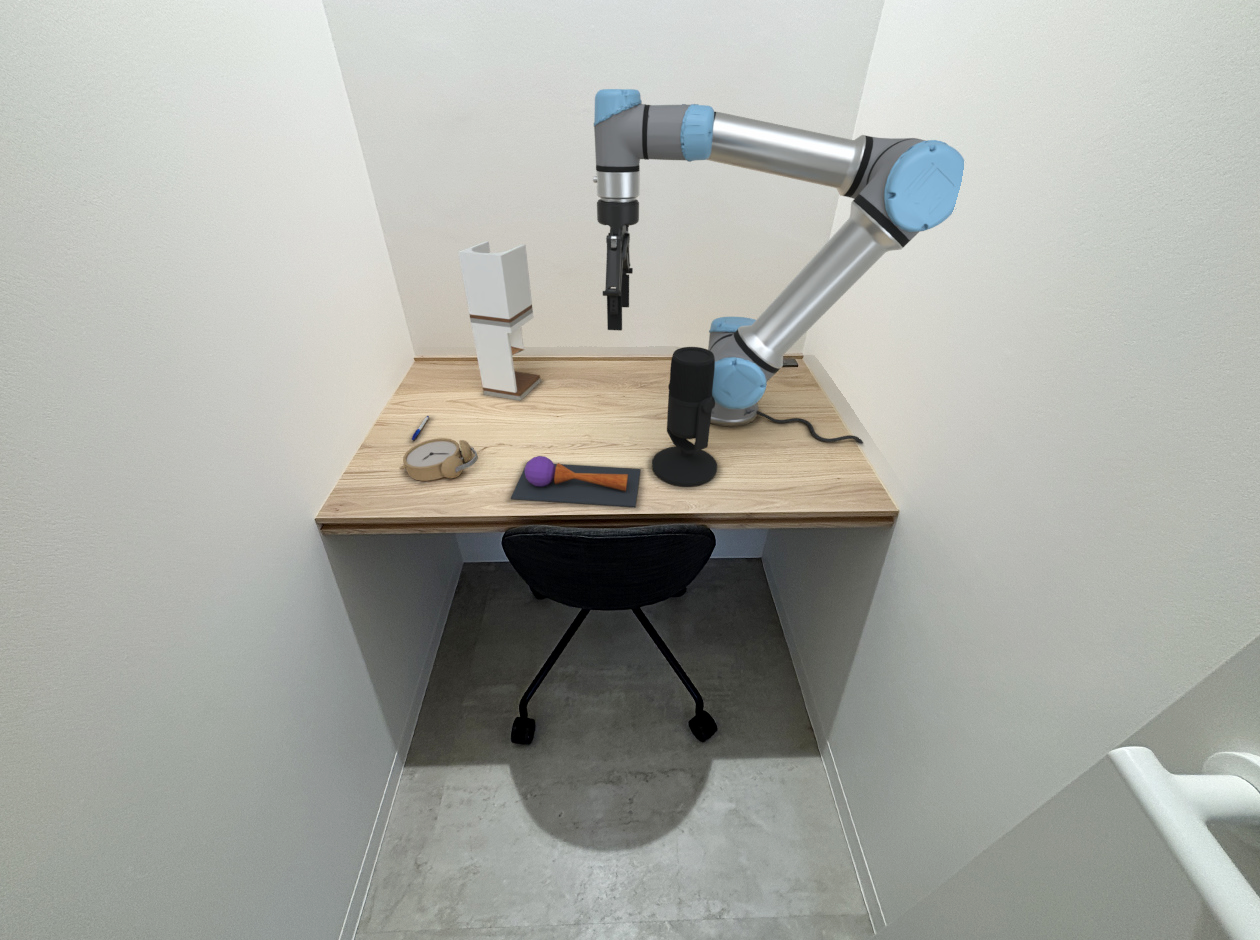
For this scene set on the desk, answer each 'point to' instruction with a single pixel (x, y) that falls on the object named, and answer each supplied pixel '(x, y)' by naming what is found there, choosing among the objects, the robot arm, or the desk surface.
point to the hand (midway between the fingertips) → (619, 317)
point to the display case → (498, 315)
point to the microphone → (688, 420)
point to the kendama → (568, 475)
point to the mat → (582, 488)
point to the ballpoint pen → (419, 428)
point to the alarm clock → (438, 459)
